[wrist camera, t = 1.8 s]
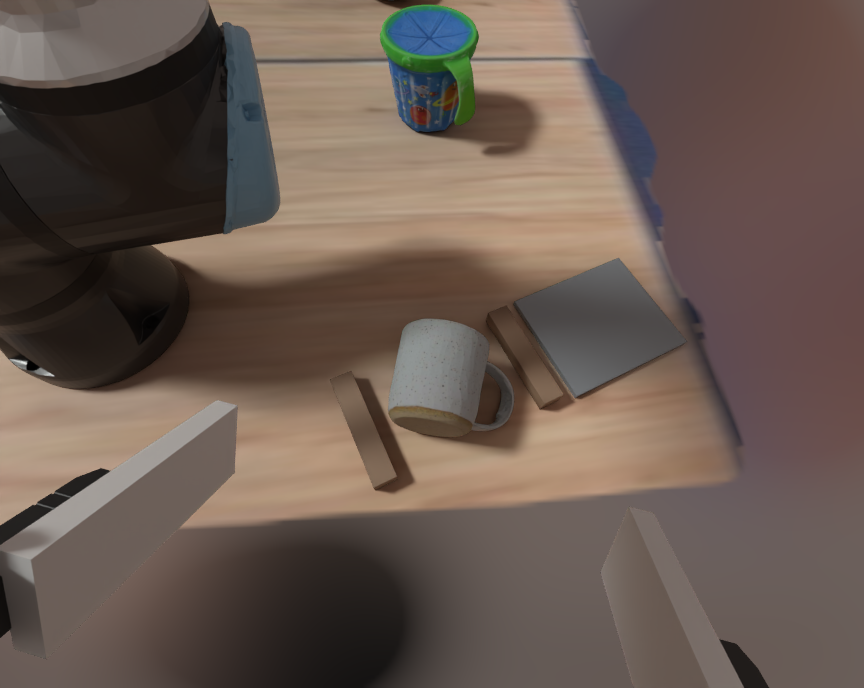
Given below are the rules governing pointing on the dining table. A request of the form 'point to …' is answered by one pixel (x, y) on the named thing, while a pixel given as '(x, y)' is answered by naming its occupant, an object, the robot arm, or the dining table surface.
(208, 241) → the dining table surface
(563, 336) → the slate mat
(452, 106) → the snack cup
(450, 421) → the ceramic mug
